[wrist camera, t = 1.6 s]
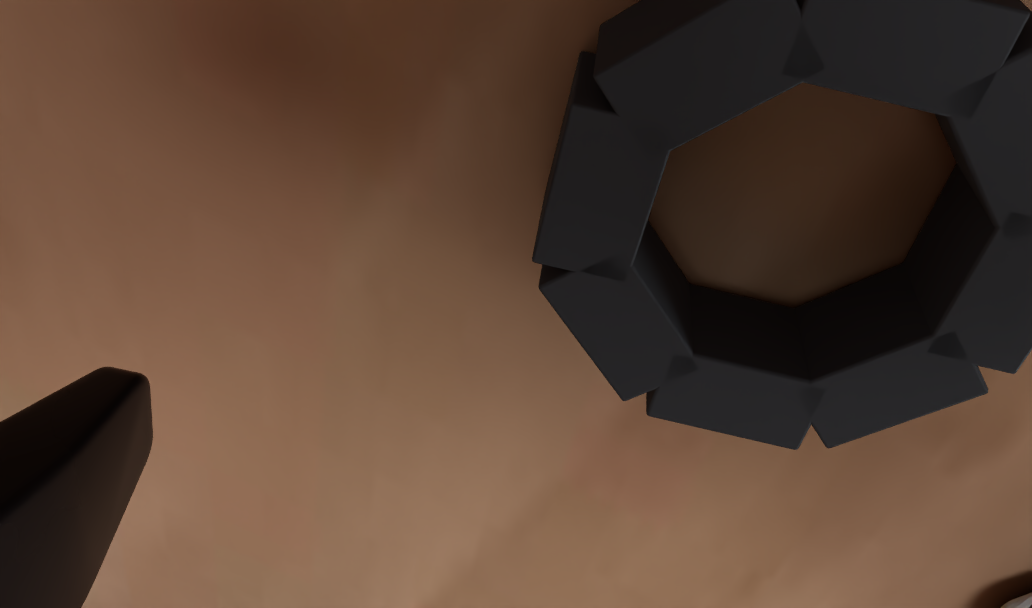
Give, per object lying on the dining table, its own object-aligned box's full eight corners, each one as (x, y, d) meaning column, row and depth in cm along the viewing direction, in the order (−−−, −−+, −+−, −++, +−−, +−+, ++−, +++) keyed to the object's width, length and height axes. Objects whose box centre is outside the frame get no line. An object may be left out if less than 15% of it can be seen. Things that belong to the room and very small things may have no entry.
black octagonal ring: (1156, 6, 16) (1231, 60, 14) (912, 404, 21) (941, 485, 19) (623, -123, 15) (618, -88, 13) (515, 312, 21) (500, 383, 19)
